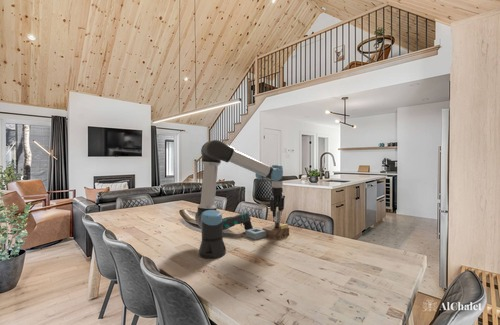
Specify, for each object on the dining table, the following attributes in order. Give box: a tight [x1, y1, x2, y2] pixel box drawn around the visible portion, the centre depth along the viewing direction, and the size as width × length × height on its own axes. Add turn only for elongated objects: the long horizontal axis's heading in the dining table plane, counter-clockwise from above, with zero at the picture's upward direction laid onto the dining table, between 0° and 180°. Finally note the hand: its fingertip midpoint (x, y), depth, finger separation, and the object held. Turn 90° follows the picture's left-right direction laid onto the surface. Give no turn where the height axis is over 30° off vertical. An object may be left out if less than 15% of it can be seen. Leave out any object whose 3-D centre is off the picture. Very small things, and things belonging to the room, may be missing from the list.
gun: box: [222, 211, 254, 234], centre depth 177 cm, size 7×29×15 cm, turn 86°
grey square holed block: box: [245, 227, 267, 241], centre depth 166 cm, size 10×10×4 cm
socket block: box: [261, 224, 290, 240], centre depth 168 cm, size 14×12×5 cm
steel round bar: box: [274, 210, 281, 229], centre depth 169 cm, size 3×3×13 cm
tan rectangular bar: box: [279, 223, 289, 229], centre depth 166 cm, size 7×2×2 cm, turn 128°
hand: (277, 220), depth 169 cm, fingers closed on steel round bar, 3 cm apart
